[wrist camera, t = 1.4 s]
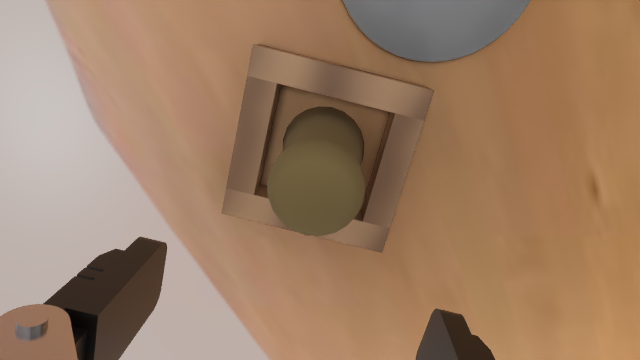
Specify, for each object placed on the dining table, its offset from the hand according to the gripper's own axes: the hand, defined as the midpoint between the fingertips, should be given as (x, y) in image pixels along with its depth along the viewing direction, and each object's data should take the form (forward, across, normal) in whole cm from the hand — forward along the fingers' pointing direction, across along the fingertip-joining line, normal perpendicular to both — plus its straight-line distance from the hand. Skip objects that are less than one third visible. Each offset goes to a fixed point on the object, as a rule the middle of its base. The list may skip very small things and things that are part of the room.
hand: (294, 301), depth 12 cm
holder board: (+20, 0, 0) cm, 20 cm away
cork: (+20, 0, 0) cm, 20 cm away
